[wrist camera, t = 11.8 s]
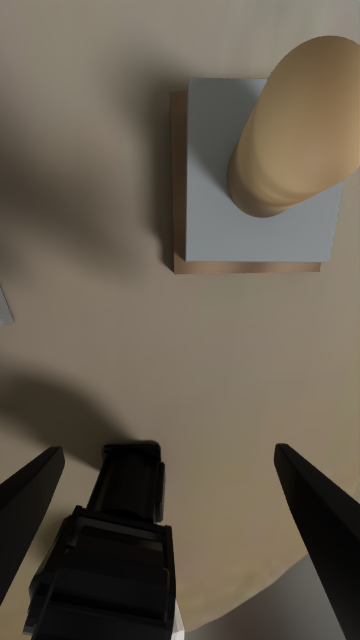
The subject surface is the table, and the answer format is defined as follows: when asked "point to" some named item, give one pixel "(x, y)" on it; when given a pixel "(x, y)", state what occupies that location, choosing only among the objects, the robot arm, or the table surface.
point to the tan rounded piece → (300, 129)
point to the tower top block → (213, 196)
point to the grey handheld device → (4, 311)
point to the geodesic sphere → (177, 625)
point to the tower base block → (179, 209)
